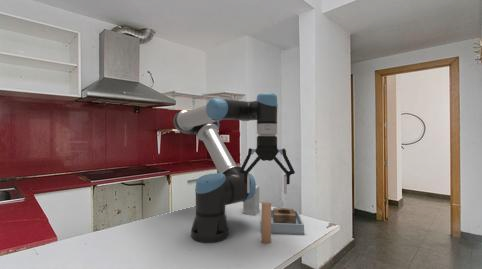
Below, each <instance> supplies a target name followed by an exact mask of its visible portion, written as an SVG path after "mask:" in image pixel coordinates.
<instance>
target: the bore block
mask: <svg viewBox="0 0 482 269" xmlns="http://www.w3.org/2000/svg"><path fill="white" fill-rule="evenodd" d="M272 210H273V222H274V223H287V224H296V214H295V212H294V211H295V209H294V208H283V207H281V208H280V207H279V208H277V207H273V208H272Z"/></svg>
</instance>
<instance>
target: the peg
mask: <svg viewBox="0 0 482 269" xmlns="http://www.w3.org/2000/svg"><path fill="white" fill-rule="evenodd" d="M261 210H262V233H261V242H262V243H263V244H270V243H272V234H271V210H272V203H271V202H268V201H267V202H262V203H261Z"/></svg>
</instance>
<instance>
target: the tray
mask: <svg viewBox="0 0 482 269" xmlns="http://www.w3.org/2000/svg"><path fill="white" fill-rule="evenodd" d="M294 212H295V214H296V224H287V223H274V222H273V209H271V235H272V234H273V235H274V234H275V235H300V236H304V235H305V224H304V222H303V220H302V218H301V215H300V212H299V210H294ZM260 233H261V234H262V209H261V210H260Z"/></svg>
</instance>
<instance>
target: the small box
mask: <svg viewBox="0 0 482 269" xmlns="http://www.w3.org/2000/svg"><path fill="white" fill-rule="evenodd" d="M242 203H243V204H242V206H243V207H242V209H243V210H242V211H243V212H242V213H243V214H244V215H251V216H256V215H257V213H258V212H259V211H260V185H258V184H256V190H255V194H254V196H253V197H252V198H251V199H249V200H246V201H244V202H242Z"/></svg>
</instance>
